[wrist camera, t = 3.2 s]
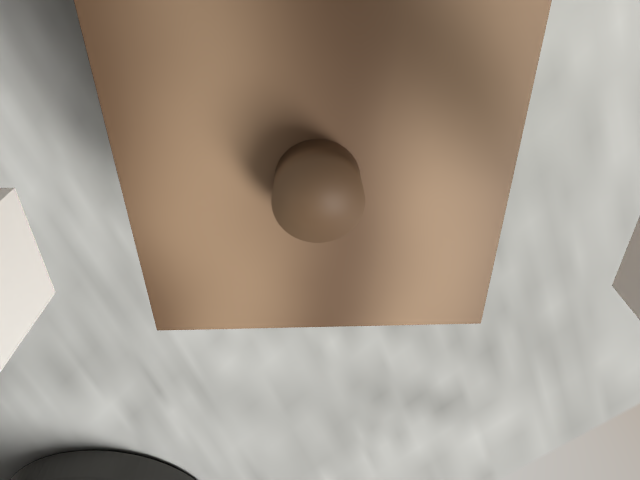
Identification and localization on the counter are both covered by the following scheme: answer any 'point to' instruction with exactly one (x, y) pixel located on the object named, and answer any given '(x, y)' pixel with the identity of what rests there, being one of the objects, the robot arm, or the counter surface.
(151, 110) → the lid
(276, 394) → the counter surface
